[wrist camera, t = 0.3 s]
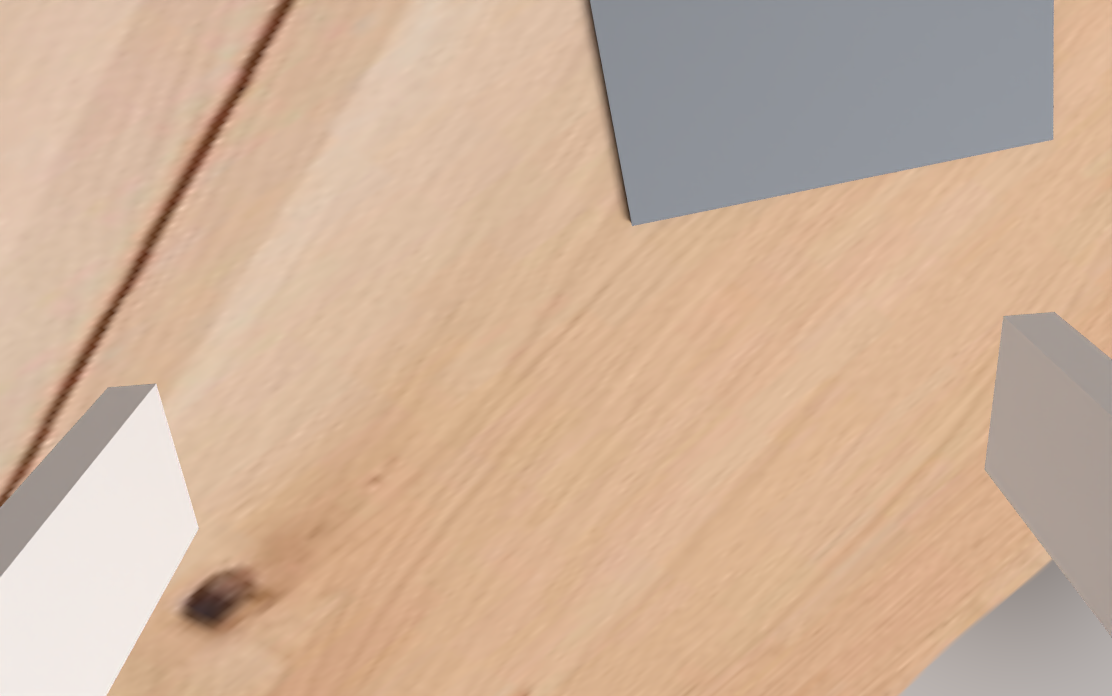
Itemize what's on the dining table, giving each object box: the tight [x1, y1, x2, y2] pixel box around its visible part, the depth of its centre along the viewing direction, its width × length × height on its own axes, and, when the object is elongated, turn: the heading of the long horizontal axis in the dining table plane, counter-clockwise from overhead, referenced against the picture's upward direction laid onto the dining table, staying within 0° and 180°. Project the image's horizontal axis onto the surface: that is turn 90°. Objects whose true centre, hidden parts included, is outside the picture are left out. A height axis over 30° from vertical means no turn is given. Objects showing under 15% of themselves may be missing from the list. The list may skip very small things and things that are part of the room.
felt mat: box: [590, 0, 1054, 226], centre depth 39 cm, size 14×18×1 cm
